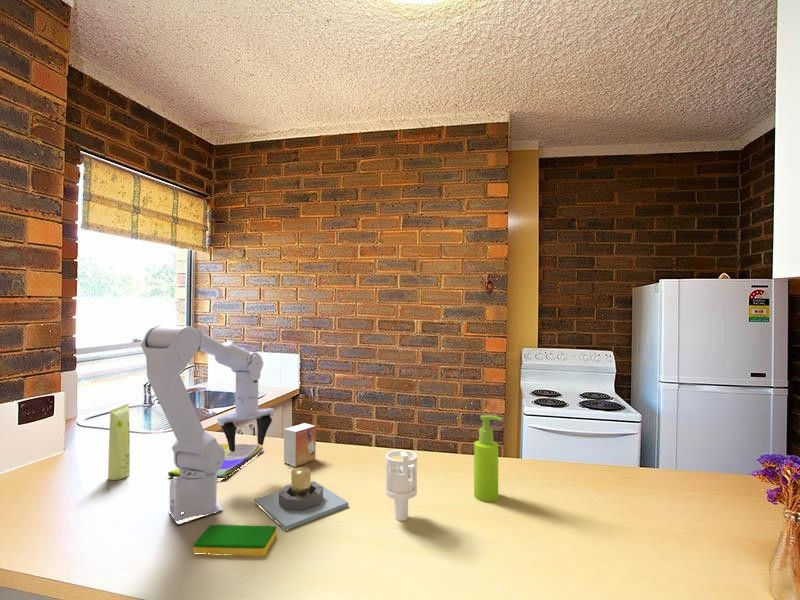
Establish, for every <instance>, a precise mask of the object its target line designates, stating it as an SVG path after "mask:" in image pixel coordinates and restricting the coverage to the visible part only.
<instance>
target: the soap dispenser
mask: <svg viewBox="0 0 800 600" xmlns="http://www.w3.org/2000/svg"><path fill="white" fill-rule="evenodd" d="M480 420H481V421H482V427H479V430H478V431H479V432H478V433H479V435H478V436H479V437H478V440H475V441H474V445H473V448H474V452H473V455H474V456H473V464H474V466H473V469H474V470H473V471H474V474H473V475H474V476H473V481H474V482H473V483H474V484H473V489H474V491H473V492H474V494H473V495H474V498H475V499H477V500H478V501H481V502H485V503H490V502H491V503H492V502H495V501H497V500H498V499H499V444H498V442H496V441H494V429H492V428H491V426H490V425H491V424H490V423H491V422H490V421H492V420H493V421H498V422H502V421H503V417H501V416H498V415H494V414H493V415H492V414H490V415H489V414H481V415H480Z"/></svg>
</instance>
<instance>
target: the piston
mask: <svg viewBox="0 0 800 600" xmlns="http://www.w3.org/2000/svg"><path fill="white" fill-rule="evenodd" d="M311 473H312V472H311V468H310V467H308V466H307V467H306V466H303V467H302V466H300V467H299V466H298V467H294V468H293V469H292V470H291V474H290V475H291V479H290V481H291V483H290V484H291V496H295V497H304V496H307V495H310V491H311V478H312V474H311Z"/></svg>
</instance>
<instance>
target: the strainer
mask: <svg viewBox="0 0 800 600" xmlns="http://www.w3.org/2000/svg"><path fill="white" fill-rule="evenodd" d="M395 456H401V460H400V459H399V460H398V459H393V457H395ZM409 457H410V459H409ZM417 463H418V454H417V453H416V452H415V451H411V450H407V449H396V450H395V449H394V450H391V451H388V452H386V454H385V495H386V496H387V498H390V499H392V500H394V502H393V503H394V508H393V509H394V513H393V514H394V516H393V518H394V519H395V521H398V522H399V521H400V522H403V521H406V520H408V519H409V500H411V499H413V498H415V497H416V496H417V494H418V487H417V486H418V483H417V482H418V481H417V480H418V475H417V473H418V469H417V468H418V464H417Z"/></svg>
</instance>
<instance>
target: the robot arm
mask: <svg viewBox="0 0 800 600" xmlns="http://www.w3.org/2000/svg"><path fill="white" fill-rule="evenodd" d="M141 342H142V343H141V344H140V347H141V349H142V351H143V354H144V355H145V360H146V361H145V363H146V377H147V380H148V382H149V384H150V386H151V388H152V390H153V393H154V395H155V397H156V398H157V401H158V403H159V405H160V407H161V409H162V411H163V413H164V416H165V417H166V420H167V423H168V424H169V426H170V428H171V430H172V432H173V434H174V437H175V438H176V440H175V442H174V443H173V445H172V447H171V450H172V452H173V463H174V465H175V467H176V469H178V468H179V469H180V474H182V475H180V476H179V477H177V478H171V480H170V482H169V510H170V512H171V514H172V515H173V517H174V519H175V520H176V521H179V520H183V519H185V518H189V517H193V516H199V515H207V514H211V513H214V512H217V511H220V510H222V509H223V507H221V505H220V504H219V503H218V501H217V483H218V482H217V471H219V469H220V468H221V466H222V464H223V462H224V459H225V450H224V448H223V446H222V445H220V444H221V443H219V442H218V441H217V439H216V437H214V436H213V435H211V434H210V433H209V432H207V431H206V430H205V428H203V425H202V423H201V420H200V417H199V416H198V414H197V413H198V412H197V411H196V409H195V406H194V404H193V402H192V399H191V398H190V396H189V393H188V391H187V388H186V386H185V384H184V381H183V379H182V377H181V375H180V374H181V372H183V371H184V370H185V369H186V367H187V366H188V365H189V364H190V362H191V361H192V359H193V358H194V356H195V354H197V351H200V352H203V353H206V354H208V355H211V356H214V360H215V362H216V363H218V364H220V365H223V366H226V367H227V368H230V369H231V371H232V373H235V406H234V407H235V412H233V413H230V414H225V415H222V416H217V425H218V426H219V427H221V429H222V431H223V433H224V435H225V438H226V441H227V444H228V445H229V450H230V451H231V452H234V451H235V445H236V433H237V426H236V425H235V423H239V422H244V421H245V422H246V421H250V420H256V426H257V427H256V428H257V436H256V437H257V438H256V439H257V441H256V442H257V445H259V446H263V445H264V443H265V437H266V434H267V433H268V432H267V431H268V430H269V427H270V426H271V424H272V422H273V418H272V417H274V416H275V409H274V408H272V407H268V408H260V409H259V380H260V378H261V373H262V369H263V367H264V361H263V357H262V356H261V355H260V354H259V353H258V352H253V351H252V352H251V351H249V350H248V348H247V347H241V346H239V345H237V342H236V341H234V340H228V341H224V342H220V341H218V340H217V339H215V338H213V337H212V336H209V335H207V333H204V332H203V330H202V329H199V328H196V327H194V326H190V325H188V326H186V325H185V326H165V325H164V326H163V325H154V326H152V327H150V328H149V329H148V330H147V331H146V334H145V335H144V337H143V340H142V341H141ZM222 511H223V510H222ZM181 512H184V514H182V515H181ZM174 519H173V520H174Z"/></svg>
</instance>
